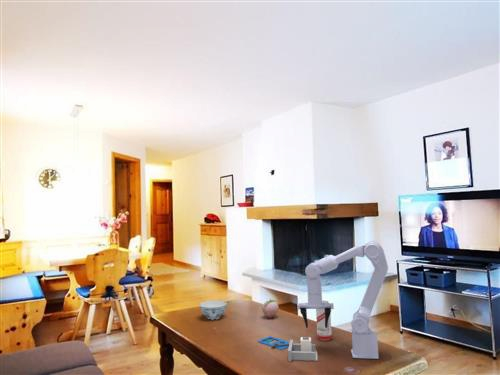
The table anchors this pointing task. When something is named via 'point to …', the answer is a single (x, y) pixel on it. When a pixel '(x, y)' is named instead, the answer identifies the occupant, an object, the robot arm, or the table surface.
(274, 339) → the handheld gaming device
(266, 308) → the decorative fruit
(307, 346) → the block
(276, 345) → the dark gray rod
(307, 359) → the dock
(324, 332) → the beer can
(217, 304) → the chinaware
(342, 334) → the table surface
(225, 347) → the table surface
